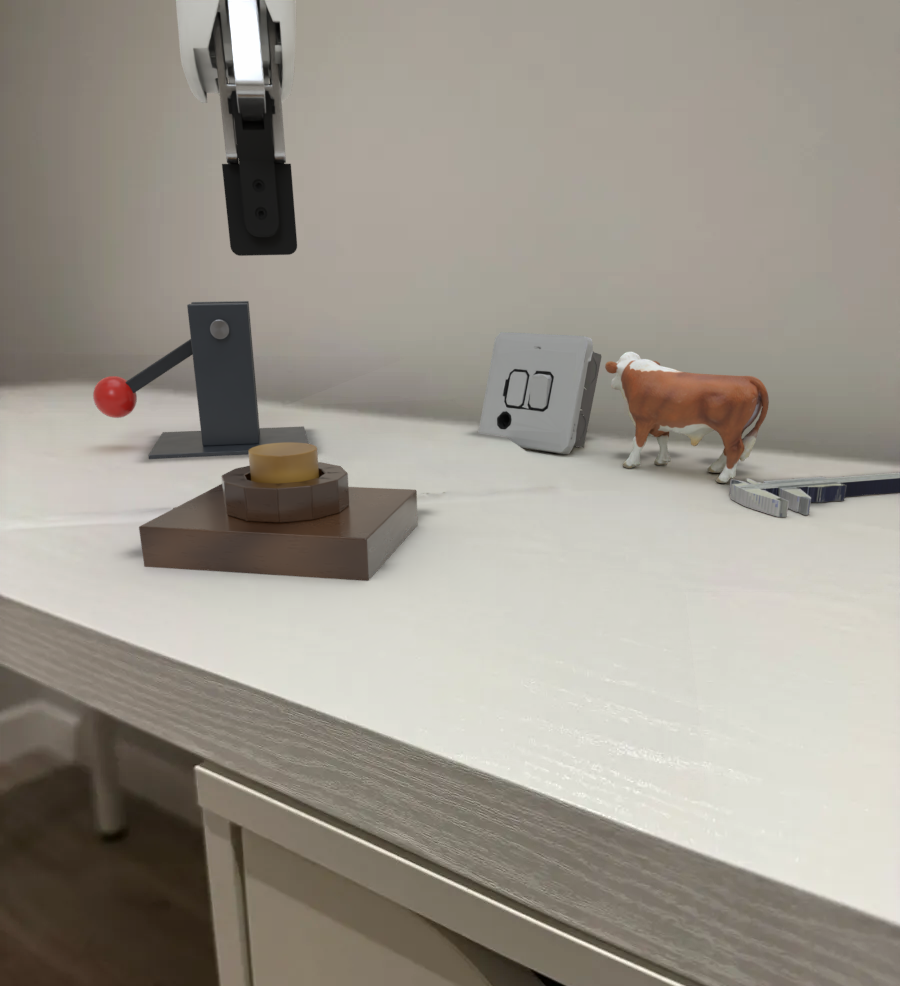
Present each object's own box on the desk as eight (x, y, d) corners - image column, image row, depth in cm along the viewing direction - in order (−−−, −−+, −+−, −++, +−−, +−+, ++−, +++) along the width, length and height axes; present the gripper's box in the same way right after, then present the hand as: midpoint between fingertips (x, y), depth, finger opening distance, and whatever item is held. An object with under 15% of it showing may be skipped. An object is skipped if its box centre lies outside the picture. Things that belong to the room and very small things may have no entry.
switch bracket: (150, 470, 67) (128, 306, 62) (164, 446, 76) (146, 301, 72) (310, 463, 69) (299, 303, 65) (305, 439, 78) (295, 299, 74)
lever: (108, 428, 68) (80, 393, 67) (114, 422, 71) (88, 388, 70) (248, 336, 68) (222, 299, 67) (248, 333, 71) (224, 297, 69)
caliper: (786, 501, 52) (713, 480, 57) (783, 519, 53) (712, 496, 58) (1008, 468, 60) (927, 451, 66) (1005, 483, 61) (924, 466, 66)
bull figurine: (618, 452, 71) (624, 348, 69) (769, 480, 62) (784, 360, 59) (582, 460, 69) (587, 352, 66) (735, 490, 59) (749, 365, 56)
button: (240, 487, 46) (236, 454, 45) (267, 472, 49) (264, 441, 49) (305, 490, 45) (302, 456, 45) (328, 474, 48) (326, 443, 48)
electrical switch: (475, 443, 76) (482, 330, 73) (511, 440, 79) (519, 333, 77) (566, 457, 70) (578, 335, 67) (601, 453, 74) (613, 338, 71)
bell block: (143, 567, 45) (132, 491, 44) (228, 516, 54) (222, 451, 53) (368, 582, 43) (365, 501, 41) (417, 525, 52) (416, 458, 50)
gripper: (151, -139, 44) (197, 259, 50) (99, -330, 30) (172, 253, 36) (304, -131, 45) (329, 256, 51) (322, -310, 31) (354, 249, 38)
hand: (264, 253), depth 44 cm, fingers closed
